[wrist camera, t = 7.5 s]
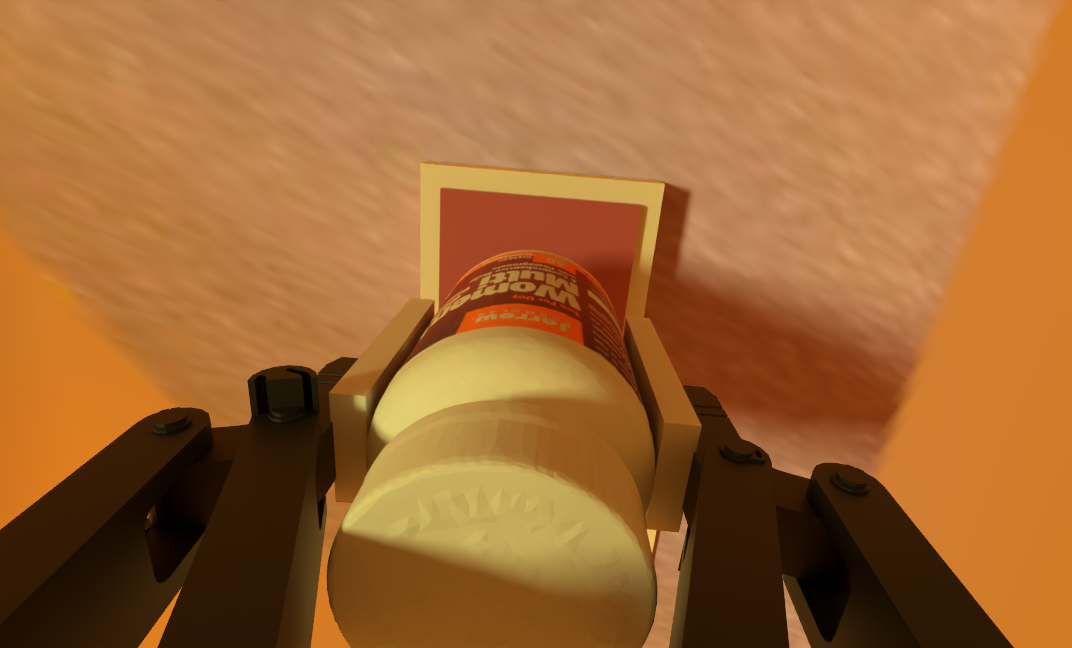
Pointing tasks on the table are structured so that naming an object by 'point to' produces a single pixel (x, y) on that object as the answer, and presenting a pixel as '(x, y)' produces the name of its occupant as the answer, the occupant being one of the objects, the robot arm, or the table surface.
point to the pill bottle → (505, 477)
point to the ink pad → (539, 226)
